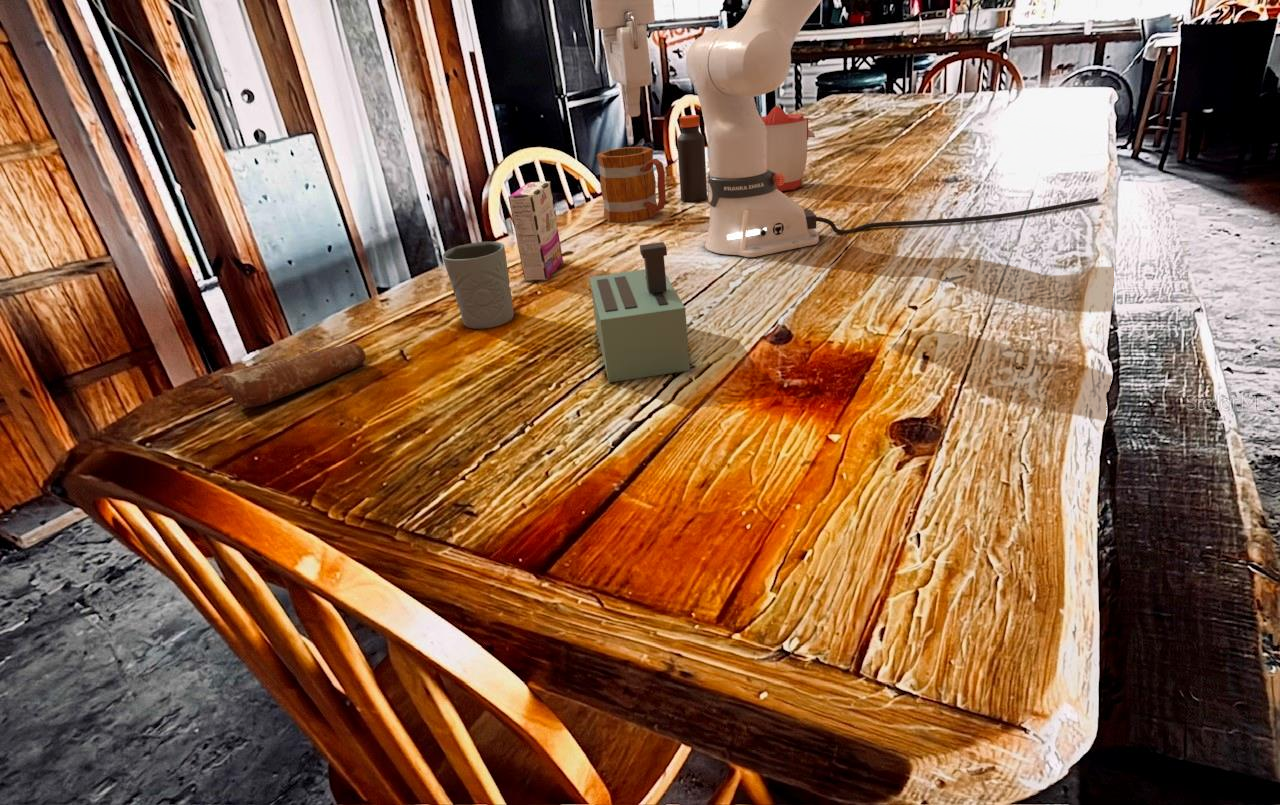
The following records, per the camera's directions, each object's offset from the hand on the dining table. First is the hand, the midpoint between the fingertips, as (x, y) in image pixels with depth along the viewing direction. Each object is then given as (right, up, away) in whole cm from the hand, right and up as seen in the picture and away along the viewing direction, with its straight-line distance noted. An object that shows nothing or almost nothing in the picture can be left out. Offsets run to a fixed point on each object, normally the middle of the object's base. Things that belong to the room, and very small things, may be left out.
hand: (633, 115), depth 108 cm
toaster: (+1, -36, -6) cm, 37 cm away
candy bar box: (-18, -18, +32) cm, 41 cm away
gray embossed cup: (-25, -30, +12) cm, 41 cm away
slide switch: (+3, -29, -12) cm, 31 cm away
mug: (+1, +1, +63) cm, 63 cm away
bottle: (+15, +8, +74) cm, 76 cm away
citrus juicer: (+38, +12, +76) cm, 86 cm away
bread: (-48, -42, -5) cm, 64 cm away
